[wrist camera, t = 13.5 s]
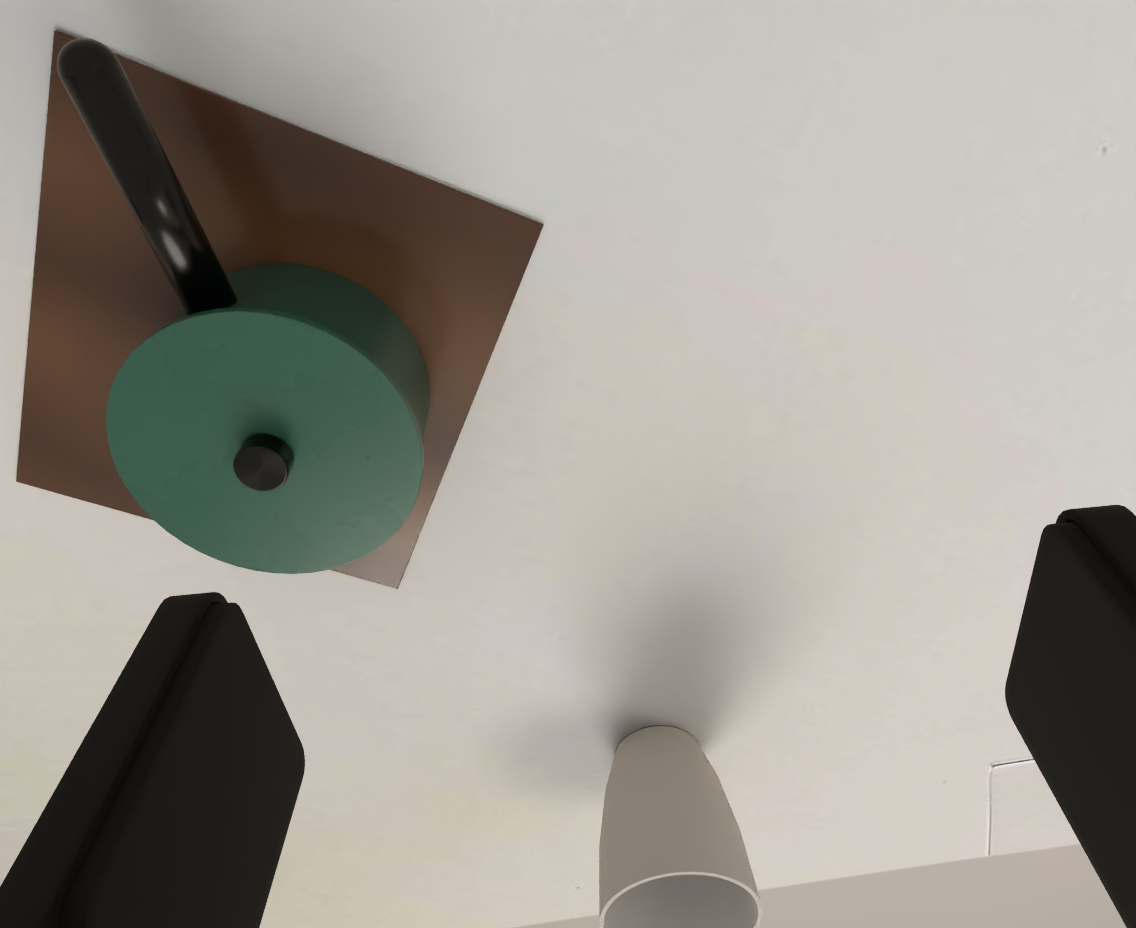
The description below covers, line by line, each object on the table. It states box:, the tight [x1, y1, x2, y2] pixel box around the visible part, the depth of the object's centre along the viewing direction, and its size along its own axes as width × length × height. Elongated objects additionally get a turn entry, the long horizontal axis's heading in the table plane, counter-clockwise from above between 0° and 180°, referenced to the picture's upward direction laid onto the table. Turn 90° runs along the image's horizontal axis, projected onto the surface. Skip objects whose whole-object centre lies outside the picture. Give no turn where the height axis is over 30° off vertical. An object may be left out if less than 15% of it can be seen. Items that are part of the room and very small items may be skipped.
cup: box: [599, 726, 762, 928], centre depth 47 cm, size 8×8×10 cm
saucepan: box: [57, 38, 430, 574], centre depth 32 cm, size 12×20×7 cm, turn 14°
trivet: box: [16, 30, 543, 589], centre depth 36 cm, size 20×18×1 cm
